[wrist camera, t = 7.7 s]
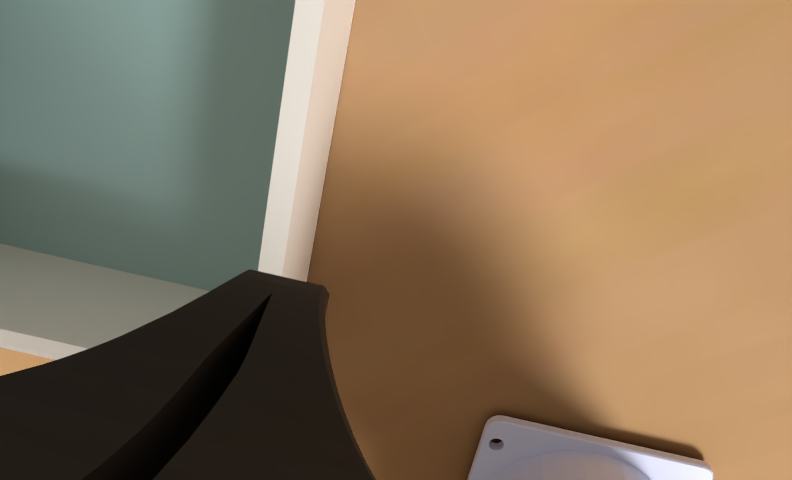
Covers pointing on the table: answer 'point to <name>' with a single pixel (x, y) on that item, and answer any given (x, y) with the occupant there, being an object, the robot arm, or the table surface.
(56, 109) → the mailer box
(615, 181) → the table surface
